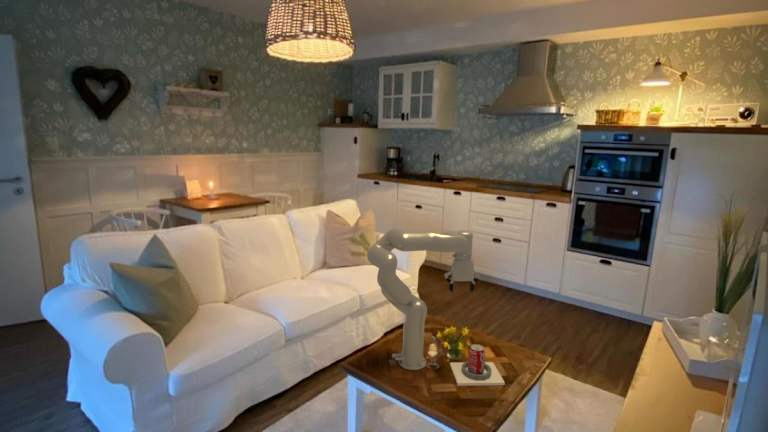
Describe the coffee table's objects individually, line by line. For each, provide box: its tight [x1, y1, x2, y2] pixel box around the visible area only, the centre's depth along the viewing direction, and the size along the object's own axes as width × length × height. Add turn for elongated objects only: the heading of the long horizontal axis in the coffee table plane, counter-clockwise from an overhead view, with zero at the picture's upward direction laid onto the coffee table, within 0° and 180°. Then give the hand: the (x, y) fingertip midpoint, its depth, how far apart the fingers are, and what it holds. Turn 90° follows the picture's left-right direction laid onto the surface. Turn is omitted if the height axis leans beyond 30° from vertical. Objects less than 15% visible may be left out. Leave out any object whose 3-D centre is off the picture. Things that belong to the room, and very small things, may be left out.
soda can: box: [467, 343, 486, 375], centre depth 177 cm, size 7×7×12 cm
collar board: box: [449, 360, 505, 387], centre depth 178 cm, size 20×16×3 cm
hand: (461, 291), depth 194 cm, fingers open, 9 cm apart
